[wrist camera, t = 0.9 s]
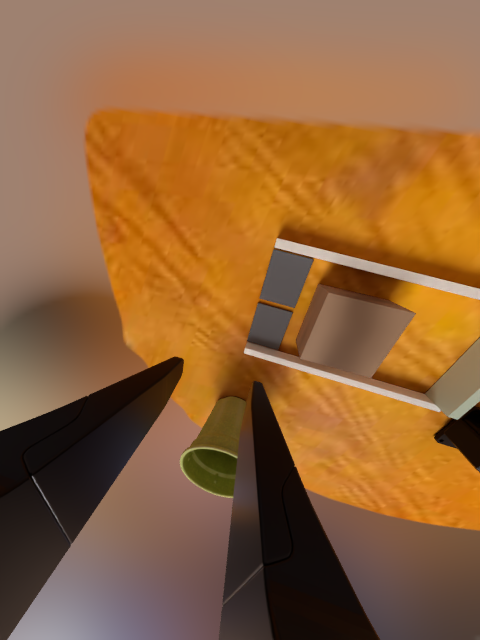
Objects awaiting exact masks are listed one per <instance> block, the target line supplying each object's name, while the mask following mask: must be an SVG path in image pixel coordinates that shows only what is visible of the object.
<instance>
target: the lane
mask: <svg viewBox="0 0 480 640" xmlns="http://www.w3.org/2000/svg"><path fill="white" fill-rule="evenodd" d="M274 248H278V249H282V250H286V251H290V252H294V253H298V254H302V255H306V256H310V257H314V258H318V259H322V260H325V261H329V262H333V263H337V264H341V265H345V266H349V267H353V268H357V269H361V270H365V271H369V272H373V273H377V274H380V275H384V276H388V277H392V278H396V279H400V280H404V281H408V282H412V283H416V284H420V285H424V286H428V287H432V288H435V289H439V290H443V291H447V292H451V293H455V294H459V295H463V296H467V297H471V298H475V299H479V300H480V289H478V288H474V287H470V286H466V285H462V284H458V283H454V282H450V281H446V280H442V279H438V278H434V277H430V276H426V275H422V274H418V273H414V272H410V271H406V270H402V269H398V268H394V267H390V266H386V265H382V264H378V263H374V262H370V261H367V260H363V259H359V258H355V257H351V256H347V255H343V254H339V253H335V252H331V251H327V250H323V249H319V248H315V247H311V246H307V245H303V244H299V243H295V242H291V241H287V240H283V239H279V238H277V240H276V243H275V247H274ZM244 353H245V354H248V355H251V356H255V357H258V358H261V359H265V360H268V361H271V362H275V363H278V364H281V365H284V366H288V367H291V368H294V369H298V370H301V371H304V372H308V373H311V374H314V375H318V376H321V377H324V378H328V379H331V380H334V381H338V382H341V383H344V384H348V385H351V386H354V387H358V388H361V389H364V390H368V391H371V392H374V393H378V394H381V395H384V396H388V397H391V398H394V399H398V400H401V401H404V402H408V403H411V404H414V405H418V406H421V407H424V408H427V409H431V410H434V411H437V412H440V411H442V412H443V413H444V414H445V415H446V416H447V417H450V418H453V419H457V420H458V419H459V418H460V417H462V416H463V415H464V414H465V413H466V412H467V411H469V410H470V409H471V408H472V407H473V406H475V405H476V404H477V403H478V402H479V401H480V338H479V339H478V340H477V341H476V342H475V343H474V344H473V345H472V346H471V347H470V348H469V349H468V350H467V351H466V352H465V353H464V354H463V355H462V356H461V357H460V358H459V359H458V360H457V361H456V363H455V364H454V365H453V366H452V367H451V368H450V369H449V370H448V371H447V372H446V373H445V374H444V375H443V376H442V377H441V378H440V379H439V380H438V381H437V382H436V383H435V384H434V385H433V386H432V387H431V388H430V389H429V390H428V391H427V392H426V393H425V394H423V393H419V392H416V391H412V390H409V389H406V388H402V387H399V386H396V385H392V384H389V383H385V382H382V381H379V380H375V379H372V378H369V377H365V376H362V375H358V374H355V373H351V372H347V371H344V370H340V369H336V368H333V367H329V366H325V365H322V364H318V363H314V362H311V361H307V360H303V359H300V357H297V356H294V355H291V354H287V353H284V352H281V351H277V350H274V349H270V348H267V347H264V346H260V345H257V344H253V343H250V342H247V343H246V347H245V350H244Z"/></svg>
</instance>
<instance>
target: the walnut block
mask: <svg viewBox="0 0 480 640" xmlns="http://www.w3.org/2000/svg"><path fill="white" fill-rule="evenodd" d="M415 314H416V313H414V312H412V311H410V310H408V309H406V308H404V307H402V306H400V305H397V304H395V303H393V302H391V301H389V300H386V299H382V298H378V297H373V296H369V295H365V294H361V293H356V292H352V291H348V290H343V289H339V288H335V287H331V286H326V285H322V284H318V286H317V288H316V291H315V293H314V296H313V298H312V301H311V303H310V306H309V308H308V311H307V313H306V316H305V318H304V321H303V323H302V326H301V328H300V331H299V333H298V336H297V339H296V343H297V347H298V352H299V356H300V359H303V360H307V361H311V362H314V363H318V364H322V365H325V366H329V367H333V368H336V369H340V370H344V371H347V372H351V373H355V374H358V375H362V376H366V377H369V378H371V377H372V376H373V375H374V373H375V372H376V370H377V369H378V367H379V366H380V364H381V363H382V362H383V360H384V359H385V357H386V356H387V354H388V353H389V352H390V350H391V349H392V347H393V346H394V344H395V343H396V341H397V340H398V339H399V337H400V336H401V334H402V333H403V331H404V330H405V328H406V327H407V326H408V324H409V323H410V321H411V320H412V318H413V317H414V315H415Z"/></svg>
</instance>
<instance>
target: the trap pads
mask: <svg viewBox="0 0 480 640" xmlns="http://www.w3.org/2000/svg"><path fill="white" fill-rule="evenodd" d="M312 262H313V259H310V258H306V257H302V256H298V255H294V254H290V253H286V252H282V251H278V250H273V254H272V257H271V260H270V264H269V267H268V271H267V274H266V278H265V281H264V285H263V288H262V292H261V295H260V299H264V300H268V301H271V302H275V303H279V304H282V305H286V306H289V307H293V308H295V306H296V303H297V301H298V298H299V296H300V293H301V290H302V288H303V285H304V283H305V280H306V278H307V275H308V273H309V270H310V268H311V265H312ZM292 313H293V312H290V311H286V310H283V309H279V308H276V307H272V306H269V305H265V304H261V303H258V305H257V309H256V312H255V316H254V319H253V323H252V326H251V329H250V333H249V336H248V340H247V341H249V342H252V343H255V344H259V345H262V346H266V347H269V348H272V349H276V350H278V349H279V346H280V344H281V341H282V339H283V336H284V334H285V331H286V329H287V326H288V324H289V321H290V318H291V316H292Z"/></svg>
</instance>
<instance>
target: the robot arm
mask: <svg viewBox="0 0 480 640" xmlns="http://www.w3.org/2000/svg"><path fill="white" fill-rule="evenodd" d="M183 364H184V360H183V359H182V358H179V357H172V358H170V359H168V360H166V361H164V362H161V363H159V364H157V365H155V366H152V367H150V368H148V369H146V370H144V371H141V372H139V373H137V374H135V375H132V376H130V377H128V378H126V379H124V380H121V381H119V382H117V383H115V384H112V385H110V386H108V387H106V388H103V389H101V390H99V391H97V392H94V393H92V394H90V395H89V396H85V397H83V398H81V399H79V400H76V401H74V402H72V403H70V404H68V405H65V406H63V407H60V408H58V409H56V410H53V411H51V412H48V413H46V414H43V415H41V416H38V417H36V418H33V419H31V420H28V421H26V422H23V423H20V424H18V425H15V426H12V427H10V428H7V429H5V430H2V431H0V640H7V639H8V638H9V636H10V635H11V633H12V632H13V630H14V629H15V627H16V626H17V624H18V623H19V621H20V620H21V618H22V617H23V615H24V614H25V612H26V611H27V610H28V608H29V607H30V605H31V604H32V602H33V600H34V599H35V598H36V596H37V595H38V593H39V592H40V590H41V589H42V587H43V586H44V584H45V583H46V582H47V580H48V578H49V577H50V576H51V574H52V573H53V571H54V570H55V568H56V567H57V565H58V564H59V562H60V561H61V559H62V558H63V556H64V555H65V553H66V552H67V551H68V549H69V548H70V546H71V544H72V543H73V541H74V540H75V538H76V537H77V536H78V534H79V533H80V531H81V530H82V528H83V527H84V525H85V524H86V522H87V521H88V519H89V518H90V516H91V515H92V513H93V512H94V510H95V509H96V508H97V506H98V504H99V503H100V502H101V500H102V499H103V497H104V496H105V494H106V493H107V491H108V490H109V488H110V487H111V485H112V484H113V483H114V481H115V479H116V478H117V476H118V475H119V474H120V472H121V471H122V469H123V468H124V466H125V465H126V463H127V462H128V460H129V459H130V458H131V456H132V455H133V453H134V452H135V450H136V449H137V447H138V446H139V444H140V443H141V441H142V440H143V438H144V437H145V435H146V434H147V433H148V431H149V430H150V428H151V427H152V425H153V424H154V422H155V421H156V419H157V418H158V416H159V415H160V413H161V412H162V410H163V409H164V407H165V406H166V404H167V402H168V400H169V398H170V396H171V395H172V393H173V391H174V389H175V387H176V385H177V383H178V381H179V380H180V378H181V376H182V373H183ZM434 439H435V440H436V441H437V442H438V443H441V444H444V445H447V446H450V447H453V448H457V449H458V450H459V451H460V452H461V453H462V454H463V455H464V456H465V458H466V459H467V460H468V461H469V462H470V463H471V464H472V465H473V466H474V468H475V469H476V470H478V471H479V472H480V408H479V407H475V406H473V407H472V408H471V409H470V410H469V411H467V412H466V413H465V414H464V415H463V416H462V417H460V418H459V419H458V420H457V419H455V420H454V421H452V422H451V423H450V424H449V425H448V426H446V427H445V428H444V429H443V430H442V431H441V432H439V433H438V434H437V435H436V436H435V437H434ZM294 466H295V464H294V461H293V459H292V456H291V454H290V451H289V449H288V446H287V444H286V441H285V439H284V436H283V434H282V431H281V429H280V427H279V424H278V422H277V419H276V417H275V414H274V412H273V409H272V407H271V404H270V402H269V399H268V397H267V395H266V392H265V390H264V387H263V385H262V383H260V382H257V381H253V382H252V385H251V388H250V391H249V393H248V397H247V402H246V406H245V411H244V415H243V420H242V425H241V430H240V437H239V447H238V456H237V466H236V476H235V486H234V495H233V505H232V515H231V525H230V535H229V544H228V554H227V565H226V574H225V583H224V593H223V607H222V612H221V622H220V632H219V640H380V638H379V637H378V635H377V634H376V631H375V630H374V628H373V626H372V624H371V623H370V621H369V619H368V617H367V615H366V613H365V612H364V609H363V607H362V606H361V604H360V602H359V600H358V598H357V596H356V594H355V592H354V590H353V587H352V586H351V584H350V581H349V580H348V577H347V575H346V573H345V571H344V569H343V567H342V566H341V563H340V561H339V559H338V557H337V555H336V553H335V551H334V549H333V547H332V545H331V543H330V541H329V539H328V537H327V535H326V533H325V531H324V529H323V527H322V525H321V523H320V521H319V518H318V516H317V514H316V512H315V510H314V508H313V506H312V504H311V502H310V499H309V497H308V495H307V492H306V490H305V488H304V485H303V483H302V481H301V478H300V476H299V473H298V471H297V468H296V467H294Z"/></svg>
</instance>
